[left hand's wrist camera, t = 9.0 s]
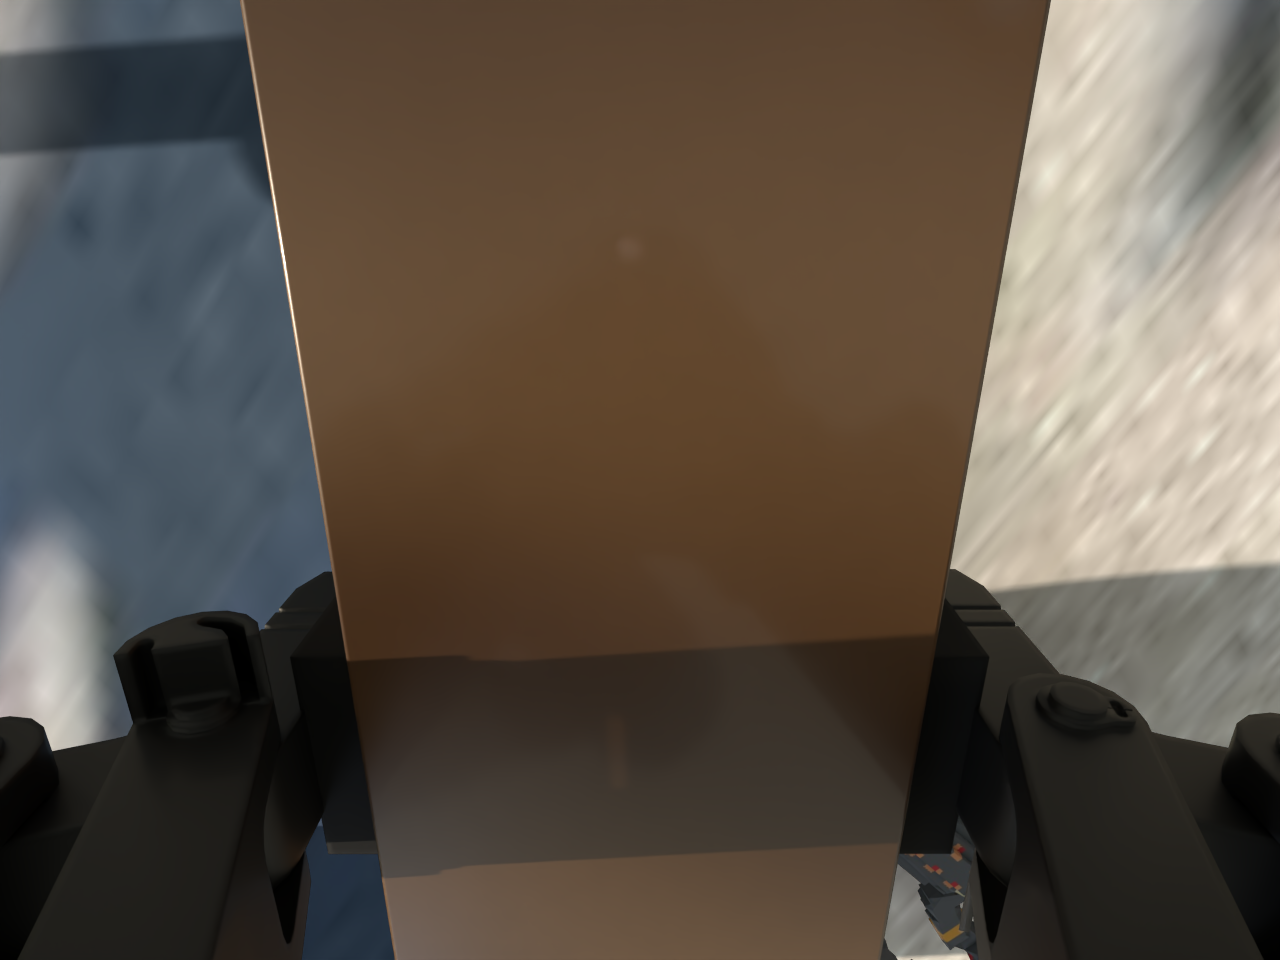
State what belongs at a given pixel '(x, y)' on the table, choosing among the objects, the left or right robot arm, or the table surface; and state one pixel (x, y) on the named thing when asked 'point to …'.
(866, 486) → the brown wooden beam
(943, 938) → the toy
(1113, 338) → the table surface
